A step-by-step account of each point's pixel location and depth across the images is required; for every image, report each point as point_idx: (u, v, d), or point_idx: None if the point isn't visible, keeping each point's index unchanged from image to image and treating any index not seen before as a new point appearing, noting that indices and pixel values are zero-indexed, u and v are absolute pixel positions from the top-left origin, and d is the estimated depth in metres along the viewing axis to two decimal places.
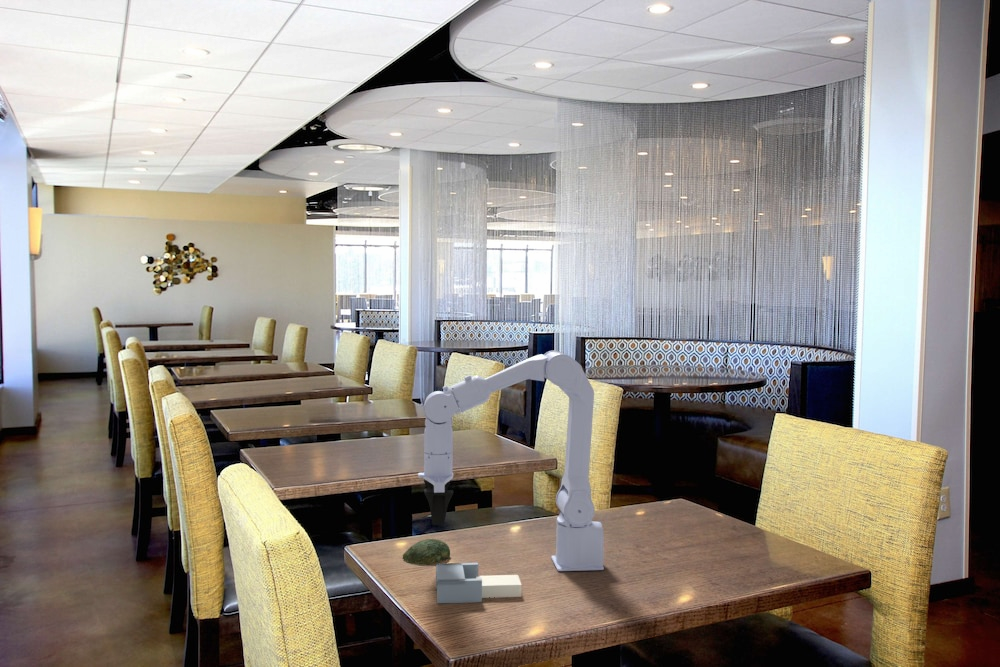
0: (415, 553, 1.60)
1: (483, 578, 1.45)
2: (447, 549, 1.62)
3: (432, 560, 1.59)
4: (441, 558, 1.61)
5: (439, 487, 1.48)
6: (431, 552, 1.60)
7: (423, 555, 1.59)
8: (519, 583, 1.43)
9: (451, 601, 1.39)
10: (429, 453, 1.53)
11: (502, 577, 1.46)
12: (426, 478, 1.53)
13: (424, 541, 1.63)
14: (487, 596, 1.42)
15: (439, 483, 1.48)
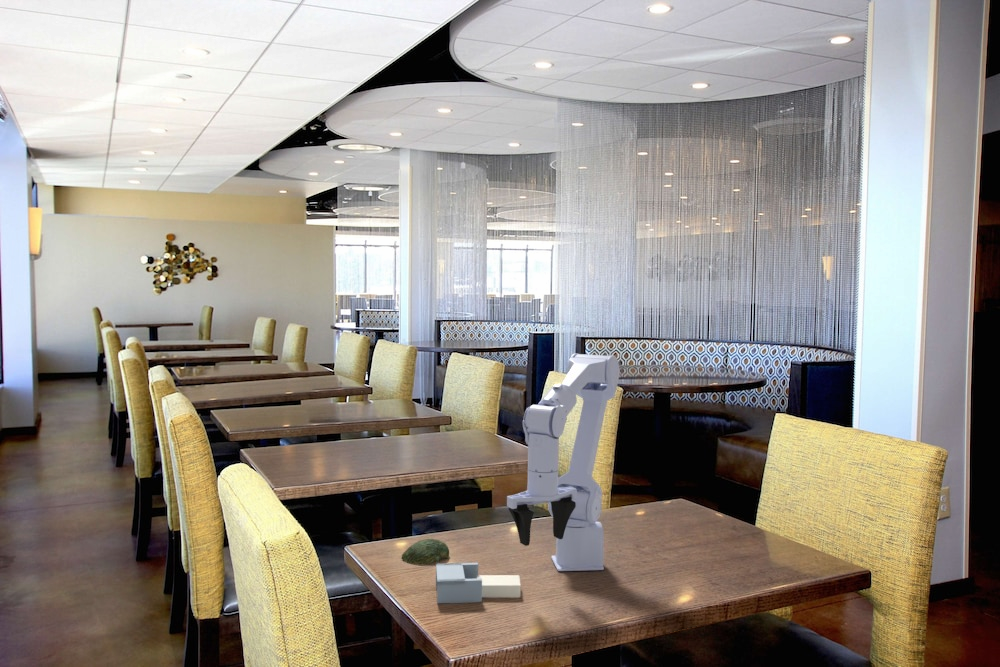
0: (414, 553, 1.60)
1: (483, 578, 1.46)
2: (446, 549, 1.62)
3: (431, 560, 1.59)
4: (440, 558, 1.61)
5: (509, 502, 1.41)
6: (430, 552, 1.60)
7: (422, 555, 1.59)
8: (518, 584, 1.43)
9: (451, 601, 1.39)
10: None
11: (503, 577, 1.46)
12: None
13: (423, 541, 1.63)
14: (486, 596, 1.42)
15: (510, 498, 1.41)
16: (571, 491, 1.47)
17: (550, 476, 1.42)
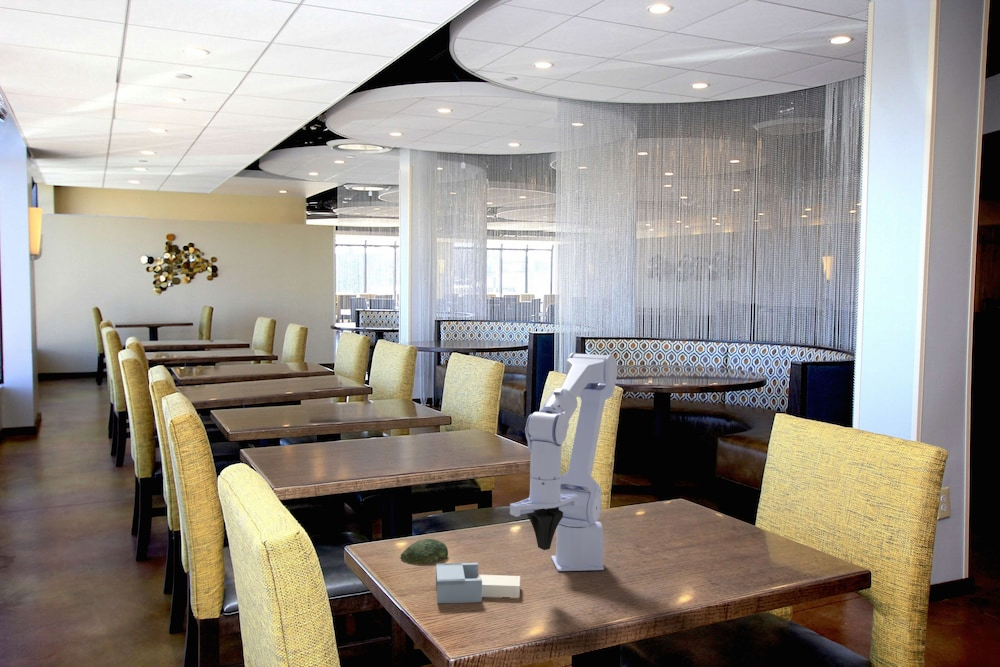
0: (413, 553, 1.60)
1: (484, 577, 1.46)
2: (445, 549, 1.62)
3: (430, 561, 1.59)
4: (439, 558, 1.61)
5: (512, 510, 1.41)
6: (429, 552, 1.60)
7: (421, 555, 1.59)
8: (518, 584, 1.43)
9: (451, 601, 1.39)
10: None
11: (503, 578, 1.46)
12: None
13: (422, 541, 1.63)
14: (485, 595, 1.42)
15: (513, 505, 1.41)
16: (573, 498, 1.47)
17: (553, 483, 1.42)
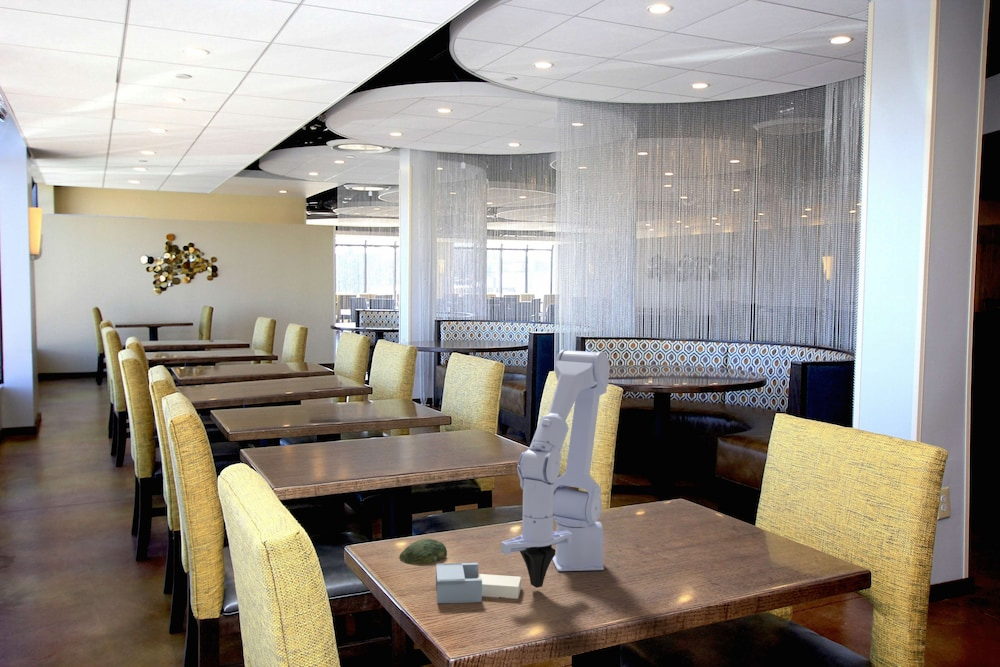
0: (412, 553, 1.60)
1: (484, 577, 1.46)
2: (444, 549, 1.62)
3: (429, 561, 1.59)
4: (438, 558, 1.61)
5: (503, 547, 1.41)
6: (428, 552, 1.60)
7: (419, 555, 1.59)
8: (517, 585, 1.42)
9: (451, 601, 1.39)
10: None
11: (504, 578, 1.46)
12: None
13: (421, 541, 1.63)
14: (484, 595, 1.42)
15: (504, 543, 1.41)
16: (566, 535, 1.47)
17: (544, 522, 1.42)
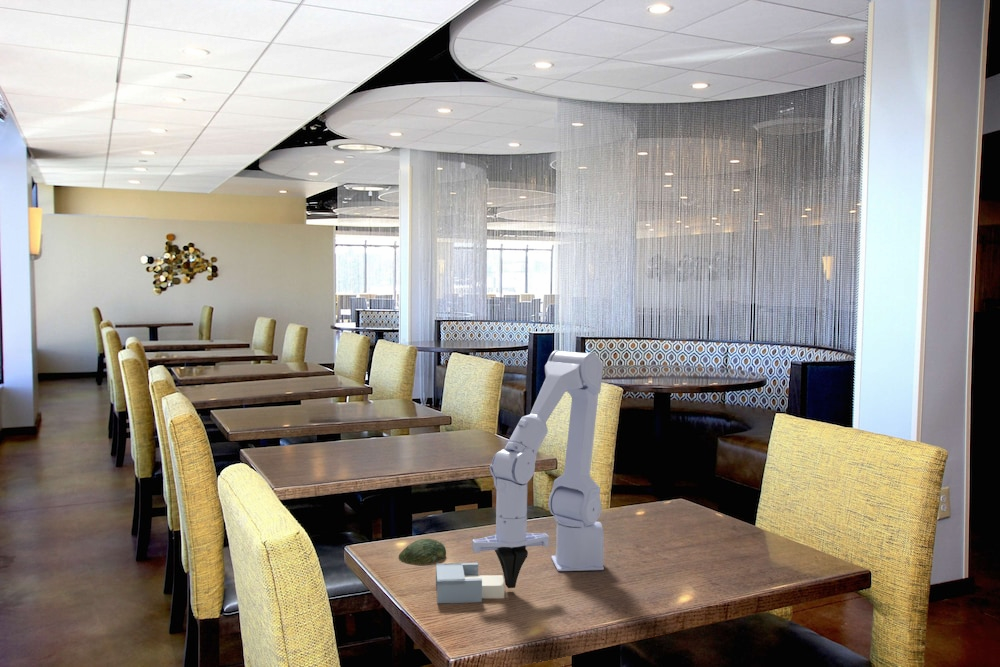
0: (411, 553, 1.60)
1: (467, 578, 1.45)
2: (443, 549, 1.62)
3: (428, 560, 1.59)
4: (437, 558, 1.61)
5: (473, 546, 1.42)
6: (427, 552, 1.60)
7: (419, 555, 1.59)
8: (502, 584, 1.42)
9: (451, 601, 1.39)
10: None
11: (487, 578, 1.45)
12: None
13: (420, 541, 1.63)
14: None
15: (474, 541, 1.42)
16: (542, 538, 1.45)
17: (515, 522, 1.41)
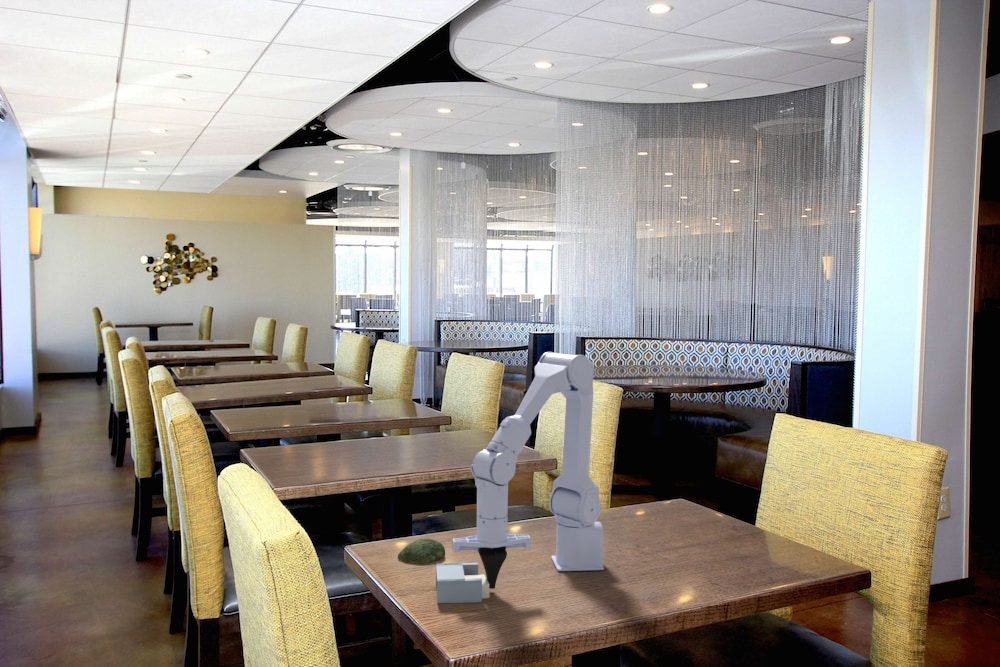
0: (410, 553, 1.60)
1: None
2: (442, 549, 1.62)
3: (427, 560, 1.59)
4: (436, 558, 1.61)
5: (453, 545, 1.42)
6: (426, 552, 1.60)
7: (418, 555, 1.59)
8: (487, 583, 1.42)
9: (451, 601, 1.39)
10: None
11: (469, 577, 1.45)
12: None
13: (419, 541, 1.63)
14: None
15: (453, 541, 1.42)
16: (523, 540, 1.44)
17: (493, 523, 1.41)
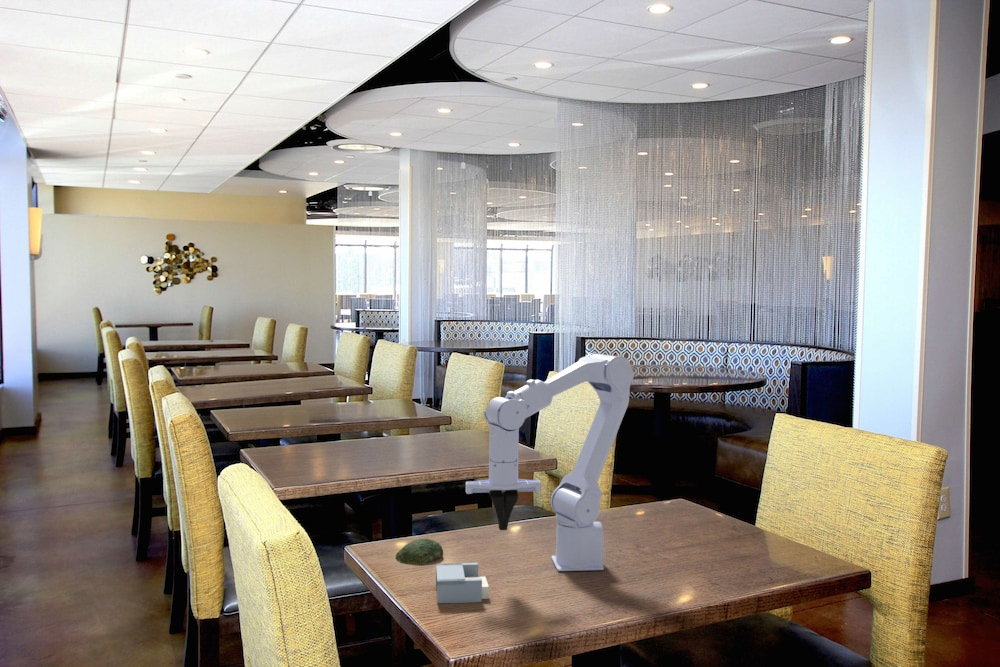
0: (408, 553, 1.60)
1: None
2: (440, 549, 1.62)
3: (424, 560, 1.59)
4: (434, 558, 1.61)
5: None
6: (424, 552, 1.60)
7: (415, 555, 1.59)
8: (486, 585, 1.42)
9: (451, 601, 1.39)
10: None
11: None
12: None
13: (417, 541, 1.63)
14: None
15: (466, 483, 1.49)
16: (534, 484, 1.50)
17: (504, 466, 1.47)
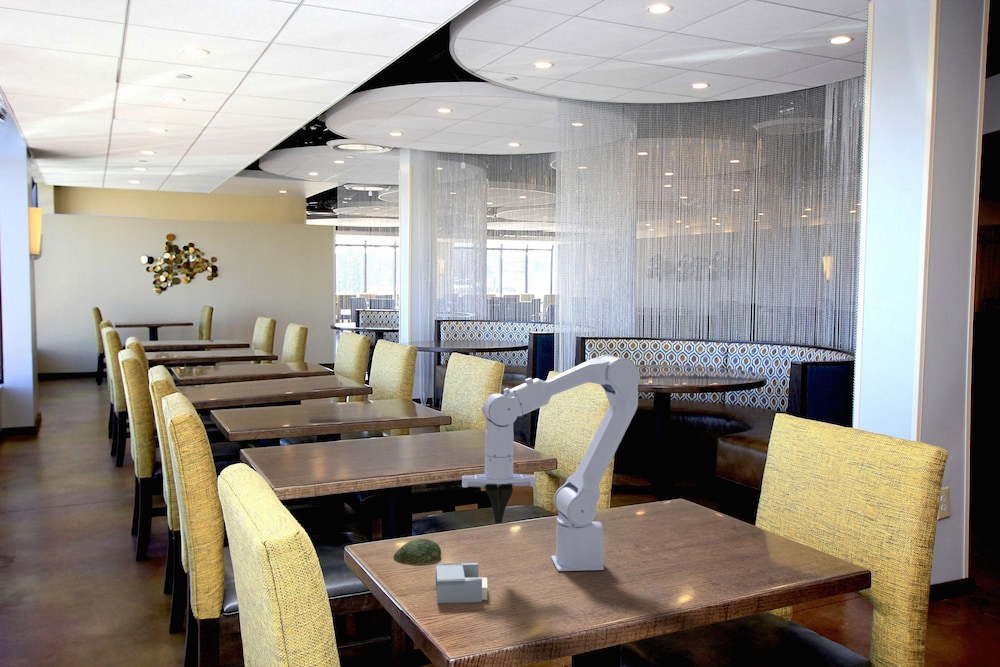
0: (405, 553, 1.60)
1: None
2: (438, 549, 1.62)
3: (422, 560, 1.59)
4: (431, 558, 1.61)
5: (462, 481, 1.54)
6: (421, 552, 1.60)
7: (413, 555, 1.59)
8: (485, 586, 1.41)
9: (451, 601, 1.39)
10: None
11: None
12: None
13: (415, 541, 1.63)
14: None
15: (462, 477, 1.54)
16: (528, 478, 1.54)
17: (499, 461, 1.51)
